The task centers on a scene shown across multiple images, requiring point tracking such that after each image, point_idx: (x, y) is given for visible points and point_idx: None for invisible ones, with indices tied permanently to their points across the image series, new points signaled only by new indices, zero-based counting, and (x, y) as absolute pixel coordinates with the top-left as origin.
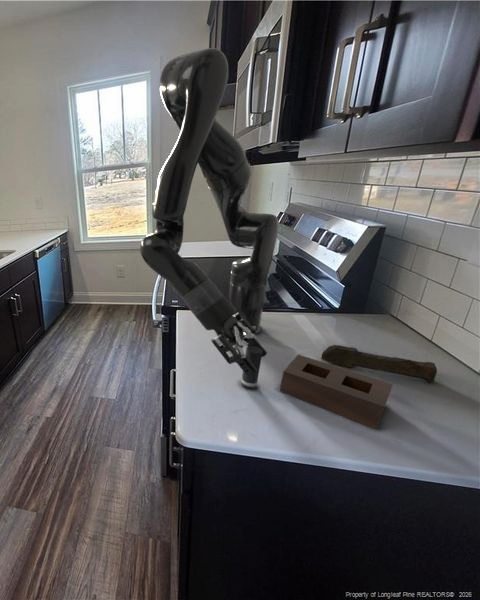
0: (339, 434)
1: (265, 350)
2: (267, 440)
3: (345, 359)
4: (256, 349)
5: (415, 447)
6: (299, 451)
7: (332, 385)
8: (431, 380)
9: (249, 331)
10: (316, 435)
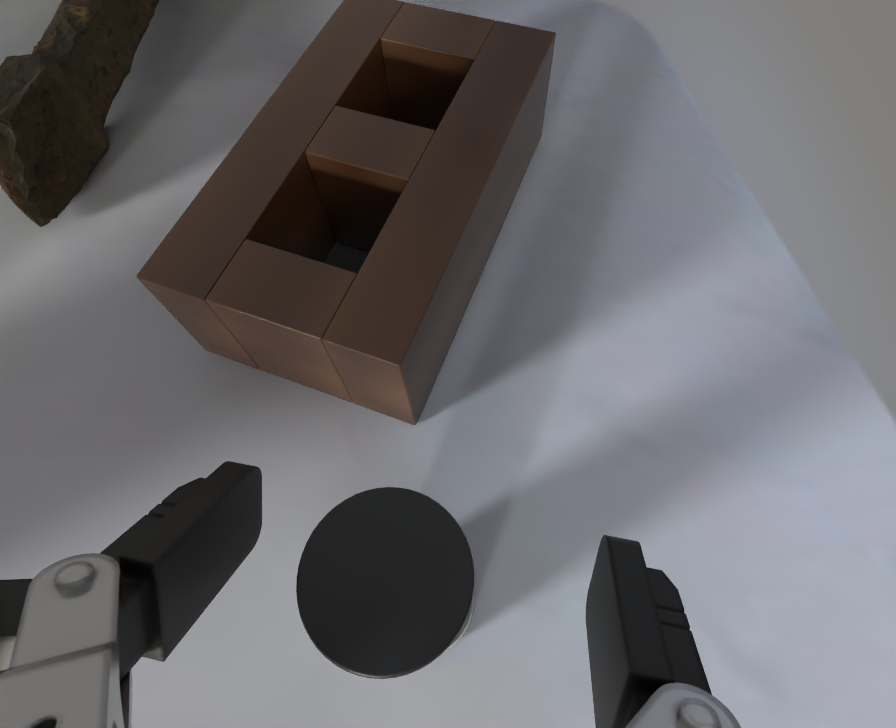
0: (640, 231)
1: (215, 470)
2: (889, 489)
3: (75, 130)
4: (371, 550)
5: (579, 73)
6: (858, 364)
7: (464, 159)
8: None
9: (59, 672)
10: (701, 300)
